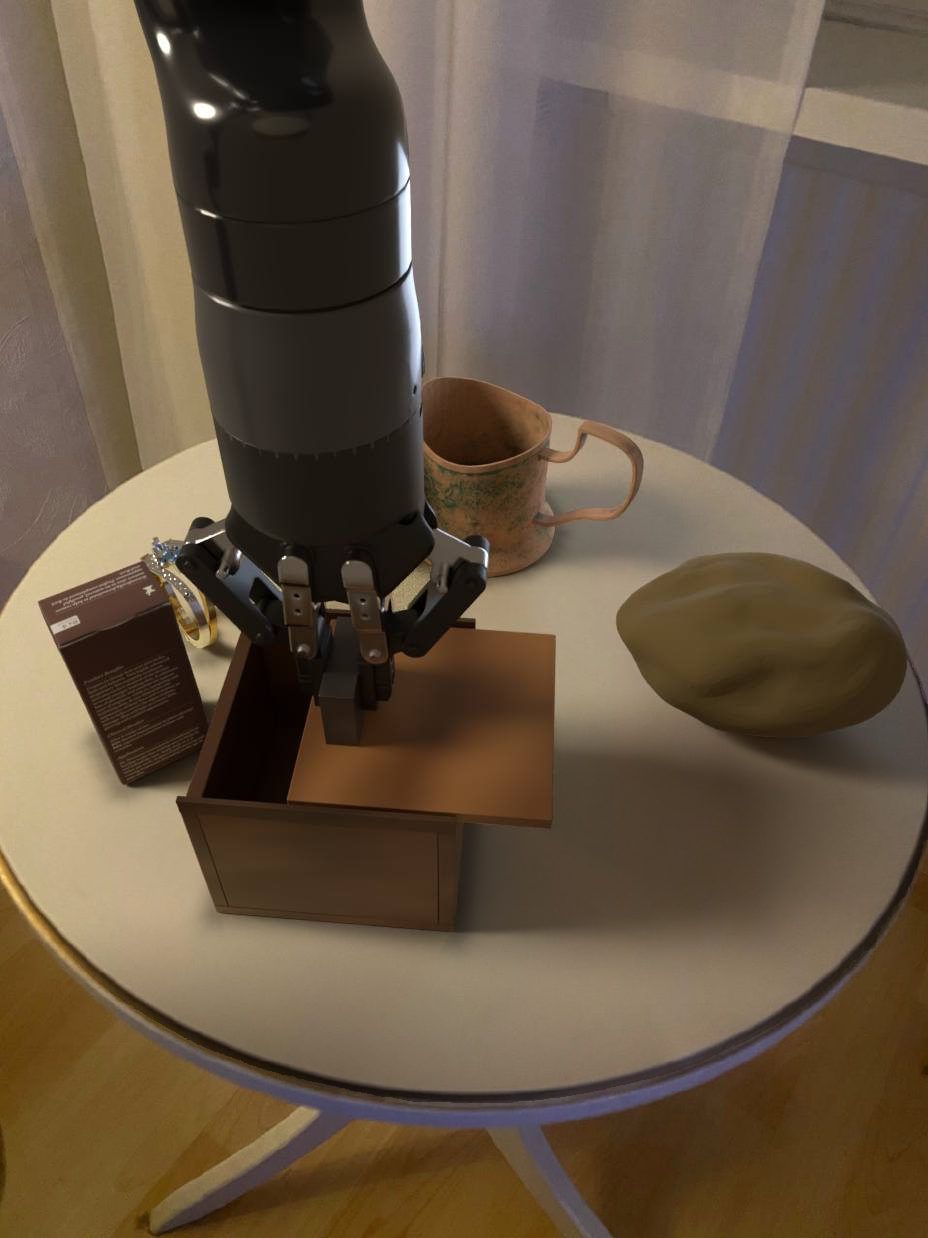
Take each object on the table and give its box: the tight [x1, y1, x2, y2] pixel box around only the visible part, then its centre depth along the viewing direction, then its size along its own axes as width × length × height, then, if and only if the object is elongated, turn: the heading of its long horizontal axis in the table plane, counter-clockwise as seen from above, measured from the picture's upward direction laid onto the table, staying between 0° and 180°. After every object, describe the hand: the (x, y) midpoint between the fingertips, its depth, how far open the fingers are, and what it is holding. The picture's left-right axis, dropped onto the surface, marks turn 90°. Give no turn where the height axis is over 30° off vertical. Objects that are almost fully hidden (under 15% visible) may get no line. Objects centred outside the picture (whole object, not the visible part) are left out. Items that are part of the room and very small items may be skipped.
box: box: [37, 560, 210, 786], centre depth 53 cm, size 6×4×12 cm
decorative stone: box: [615, 551, 908, 739], centre depth 57 cm, size 17×11×10 cm, turn 78°
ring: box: [139, 536, 218, 649], centre depth 61 cm, size 7×3×8 cm, turn 37°
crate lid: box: [287, 616, 557, 830], centre depth 45 cm, size 12×11×4 cm
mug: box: [422, 376, 645, 578], centre depth 67 cm, size 12×18×12 cm, turn 58°
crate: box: [175, 602, 477, 933], centre depth 50 cm, size 13×13×11 cm
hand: (350, 694), depth 46 cm, fingers closed on crate lid
